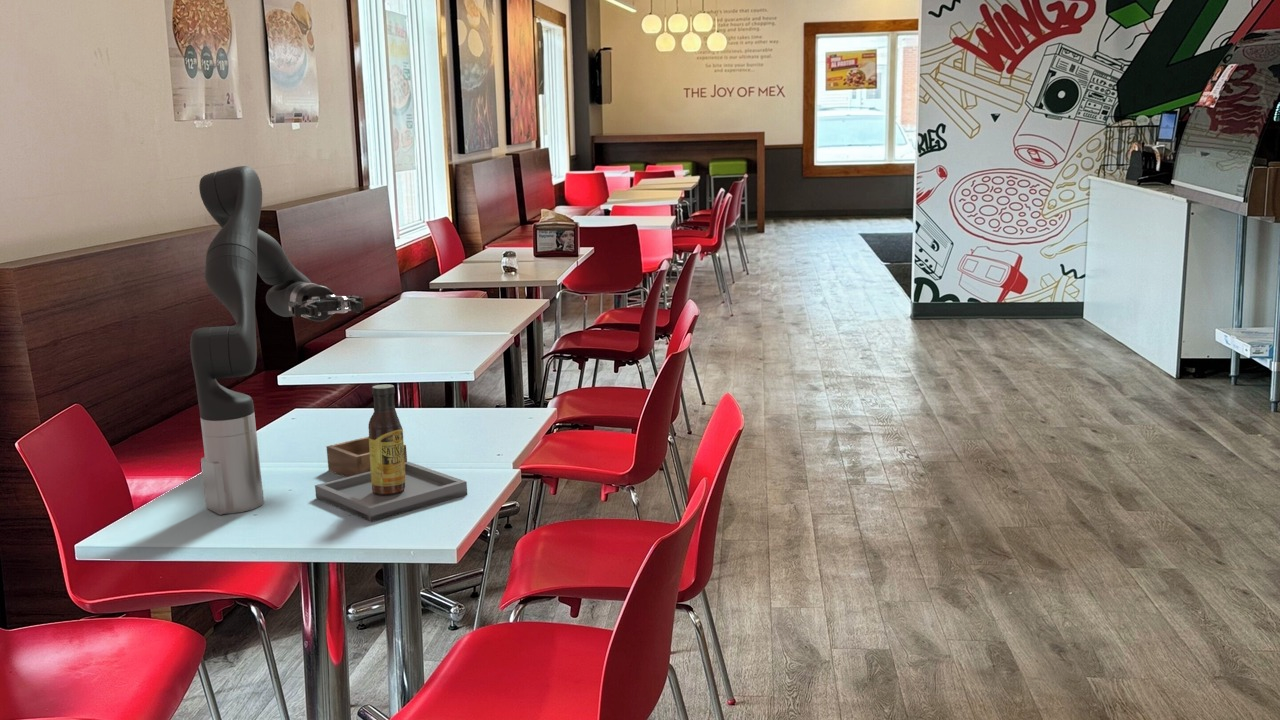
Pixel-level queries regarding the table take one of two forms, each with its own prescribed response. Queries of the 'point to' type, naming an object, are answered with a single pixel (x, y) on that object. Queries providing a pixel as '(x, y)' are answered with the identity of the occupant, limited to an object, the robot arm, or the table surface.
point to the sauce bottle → (386, 444)
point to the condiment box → (351, 457)
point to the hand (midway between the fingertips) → (337, 309)
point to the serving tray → (418, 493)
